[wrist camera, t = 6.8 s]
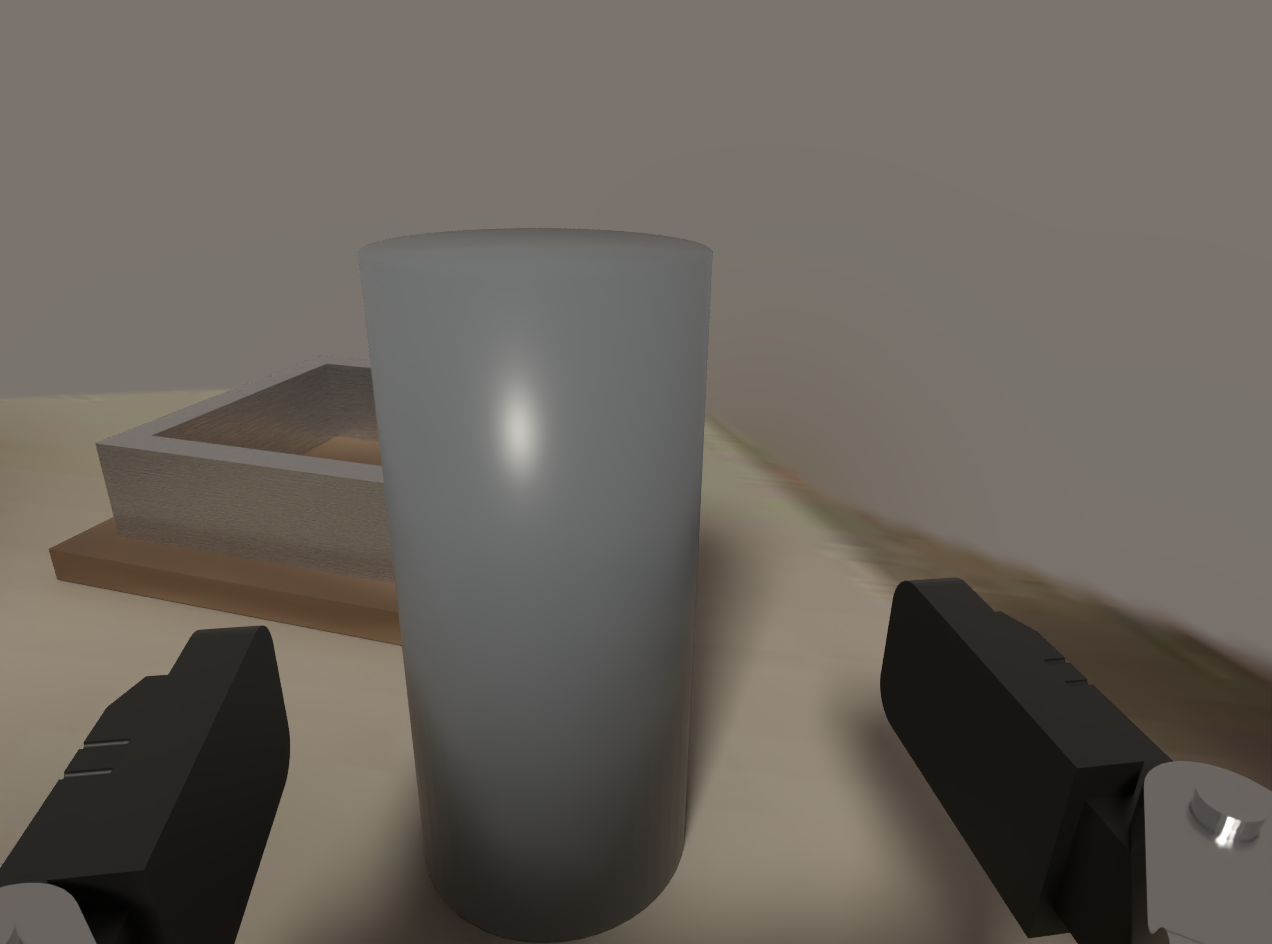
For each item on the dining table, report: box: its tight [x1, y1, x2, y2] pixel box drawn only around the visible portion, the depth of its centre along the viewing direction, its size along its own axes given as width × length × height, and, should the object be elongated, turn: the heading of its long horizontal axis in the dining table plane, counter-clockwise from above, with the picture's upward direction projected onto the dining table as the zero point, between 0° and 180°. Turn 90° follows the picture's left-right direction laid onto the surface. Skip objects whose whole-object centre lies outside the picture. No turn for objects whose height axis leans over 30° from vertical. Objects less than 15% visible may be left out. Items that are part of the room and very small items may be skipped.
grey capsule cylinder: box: [358, 228, 713, 943], centre depth 14 cm, size 5×5×11 cm
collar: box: [95, 355, 395, 584], centre depth 28 cm, size 10×10×3 cm
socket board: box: [49, 437, 402, 645], centre depth 29 cm, size 13×13×1 cm
